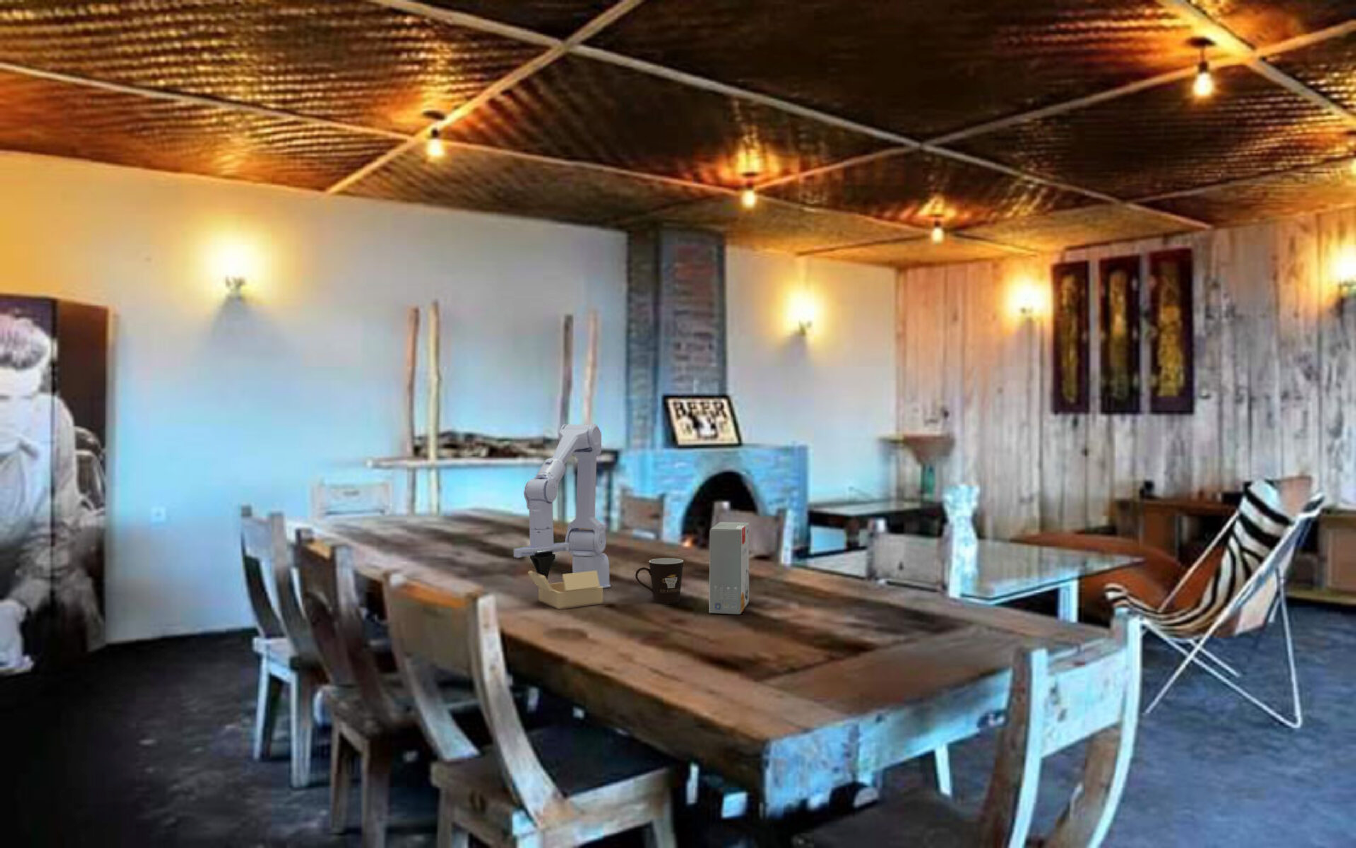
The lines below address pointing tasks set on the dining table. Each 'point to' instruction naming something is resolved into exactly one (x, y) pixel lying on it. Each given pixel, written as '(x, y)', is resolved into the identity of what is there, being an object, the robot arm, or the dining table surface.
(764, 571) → the dining table surface
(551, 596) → the carton
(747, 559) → the hard drive box
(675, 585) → the coffee mug
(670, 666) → the dining table surface
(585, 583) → the flap left
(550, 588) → the flap far
